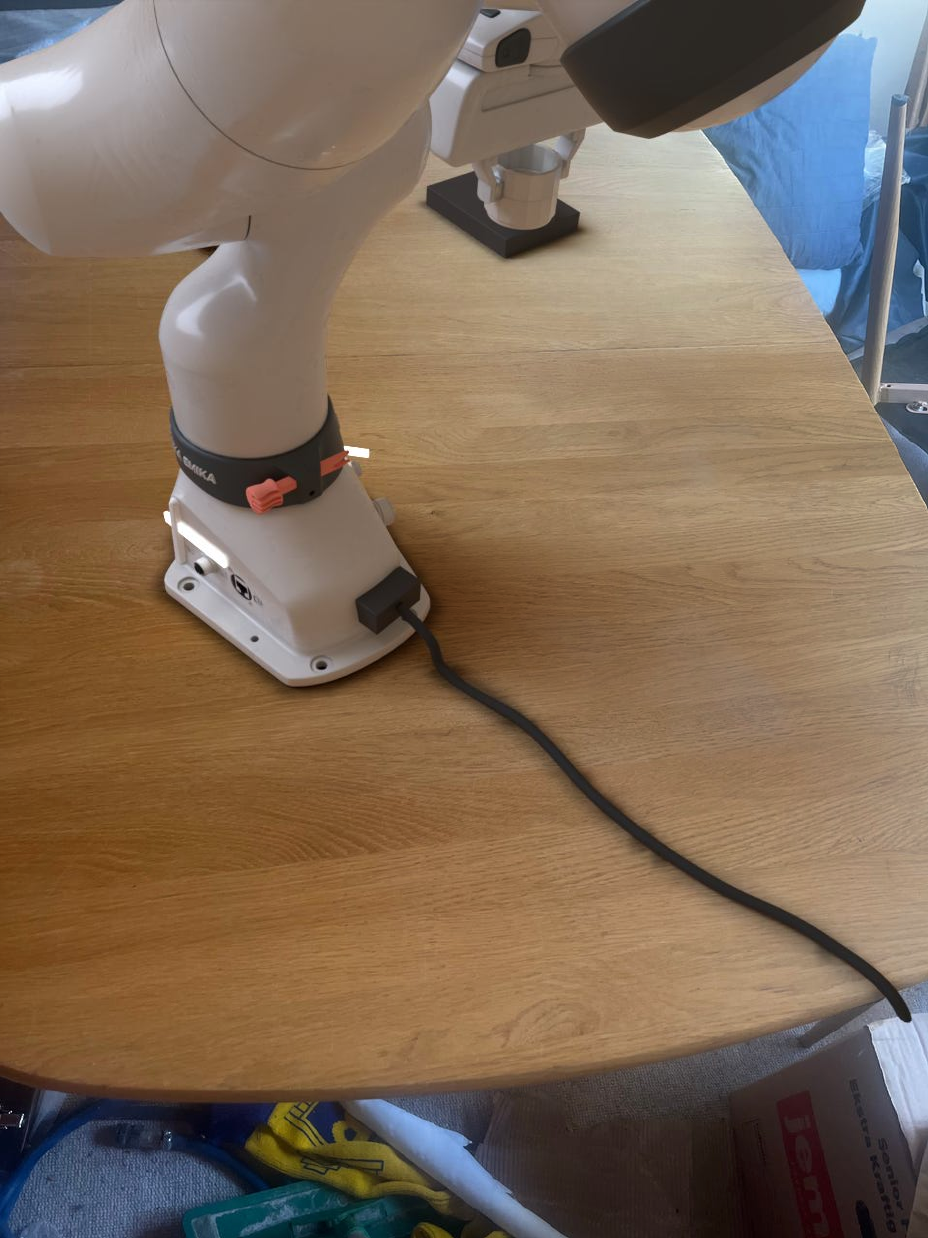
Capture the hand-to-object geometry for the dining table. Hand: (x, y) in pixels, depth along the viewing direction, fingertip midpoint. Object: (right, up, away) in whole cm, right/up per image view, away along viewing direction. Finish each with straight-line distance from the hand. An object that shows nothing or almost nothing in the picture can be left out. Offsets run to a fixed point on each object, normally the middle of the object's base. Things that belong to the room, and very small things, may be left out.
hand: (522, 188), depth 85 cm
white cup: (0, -1, +2) cm, 2 cm away
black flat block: (-1, +12, +34) cm, 36 cm away
